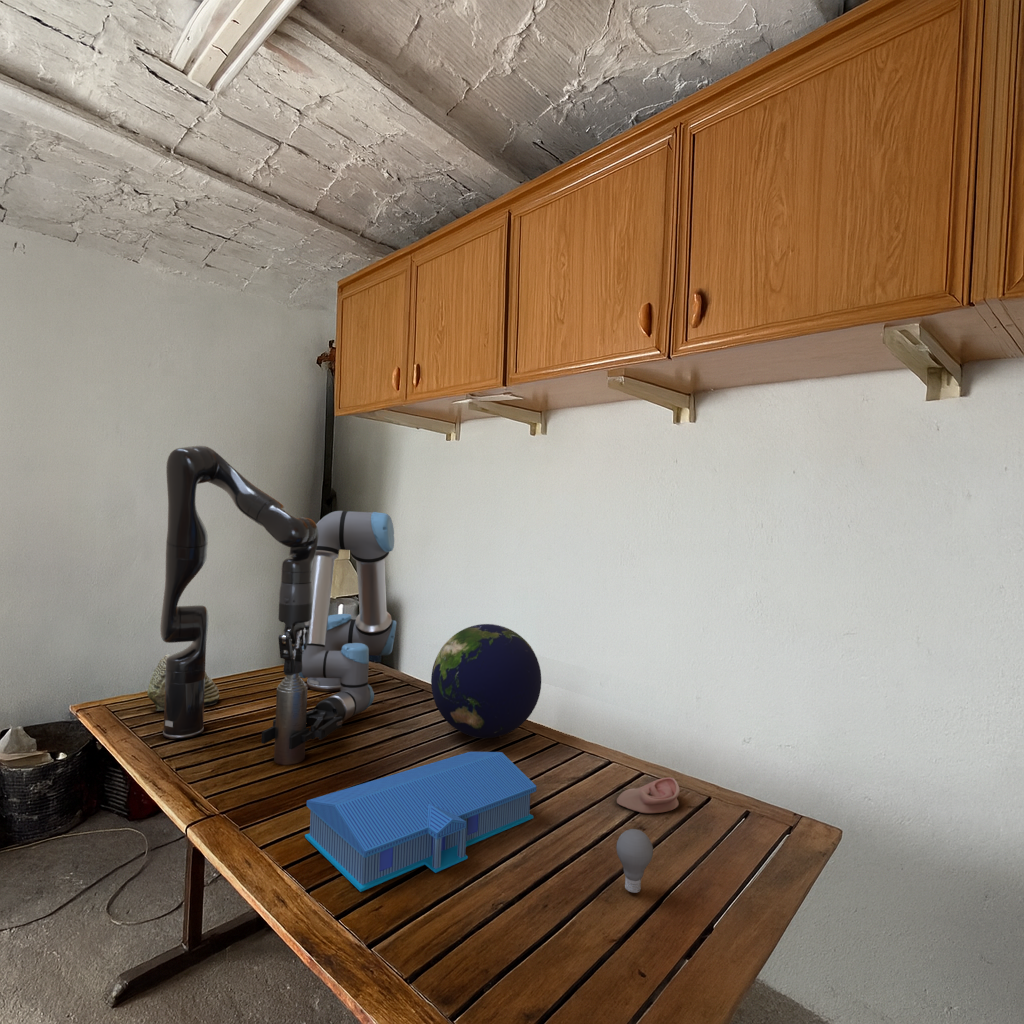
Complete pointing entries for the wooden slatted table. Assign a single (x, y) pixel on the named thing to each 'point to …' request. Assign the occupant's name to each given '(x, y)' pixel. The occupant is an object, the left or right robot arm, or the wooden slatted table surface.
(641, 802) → the anatomical model
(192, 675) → the left robot arm
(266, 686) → the wooden slatted table surface
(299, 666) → the cap
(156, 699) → the fossil
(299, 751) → the bottle
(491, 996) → the wooden slatted table surface
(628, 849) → the light bulb
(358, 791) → the model building
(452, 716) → the globe
